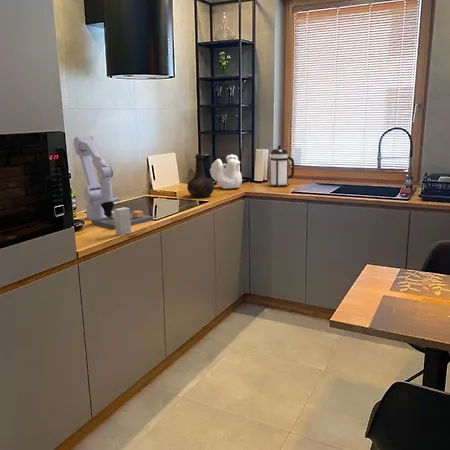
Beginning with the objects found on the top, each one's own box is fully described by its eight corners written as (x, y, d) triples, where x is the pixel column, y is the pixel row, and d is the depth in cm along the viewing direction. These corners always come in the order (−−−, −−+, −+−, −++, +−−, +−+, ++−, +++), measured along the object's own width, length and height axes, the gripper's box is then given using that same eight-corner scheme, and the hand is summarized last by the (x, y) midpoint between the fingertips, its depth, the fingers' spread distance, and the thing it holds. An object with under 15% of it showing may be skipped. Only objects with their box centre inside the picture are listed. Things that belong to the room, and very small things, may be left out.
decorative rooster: (246, 188, 336) (246, 153, 331) (232, 191, 325) (231, 155, 319) (221, 185, 353) (220, 152, 347) (206, 188, 341) (205, 154, 335)
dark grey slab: (91, 223, 236) (91, 219, 235) (129, 215, 254) (129, 211, 253) (115, 229, 223) (115, 225, 223) (153, 220, 241) (153, 216, 240)
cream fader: (108, 217, 239) (107, 211, 239) (114, 215, 242) (114, 210, 242) (113, 218, 237) (112, 212, 236) (119, 216, 240) (118, 211, 239)
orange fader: (132, 216, 239) (132, 211, 238) (138, 215, 242) (138, 210, 241) (137, 217, 236) (137, 212, 236) (143, 216, 239) (143, 211, 239)
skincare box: (125, 231, 218) (123, 207, 215) (131, 233, 216) (129, 208, 213) (115, 234, 214) (113, 209, 211) (121, 235, 211) (119, 210, 208)
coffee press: (287, 188, 333) (287, 146, 326) (266, 187, 340) (266, 145, 333) (294, 184, 348) (294, 144, 341) (274, 183, 355) (274, 144, 348)
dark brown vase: (210, 199, 297) (209, 155, 290) (184, 198, 301) (182, 155, 294) (217, 194, 314) (216, 152, 307) (191, 193, 318) (190, 152, 311)
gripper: (98, 193, 226) (101, 220, 229) (122, 189, 237) (124, 215, 240) (90, 192, 231) (92, 218, 234) (114, 188, 241) (116, 213, 244)
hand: (108, 216), depth 237 cm, fingers closed
